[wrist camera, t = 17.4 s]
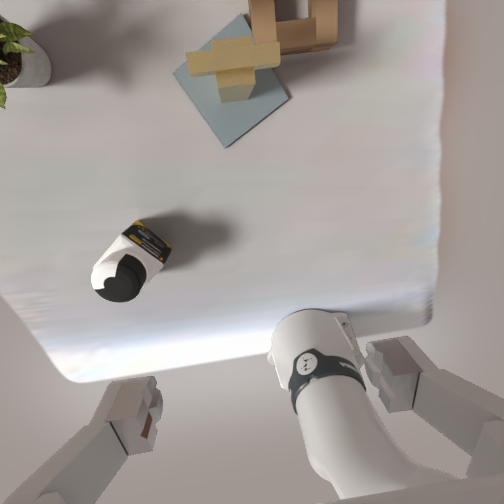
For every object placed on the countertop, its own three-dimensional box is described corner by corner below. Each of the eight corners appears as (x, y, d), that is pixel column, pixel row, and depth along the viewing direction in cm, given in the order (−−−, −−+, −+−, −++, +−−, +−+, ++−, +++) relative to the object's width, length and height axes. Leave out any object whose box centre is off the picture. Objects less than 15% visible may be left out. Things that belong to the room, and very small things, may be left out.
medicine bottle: (173, 247, 44) (155, 283, 33) (148, 275, 46) (122, 318, 35) (137, 219, 42) (104, 248, 31) (111, 249, 43) (71, 287, 32)
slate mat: (287, 99, 36) (288, 98, 36) (224, 148, 38) (224, 148, 38) (241, 14, 32) (241, 12, 32) (173, 74, 34) (172, 73, 34)
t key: (263, 97, 36) (281, 76, 23) (205, 105, 35) (192, 88, 23) (260, 66, 34) (278, 25, 22) (199, 73, 34) (182, 37, 22)
